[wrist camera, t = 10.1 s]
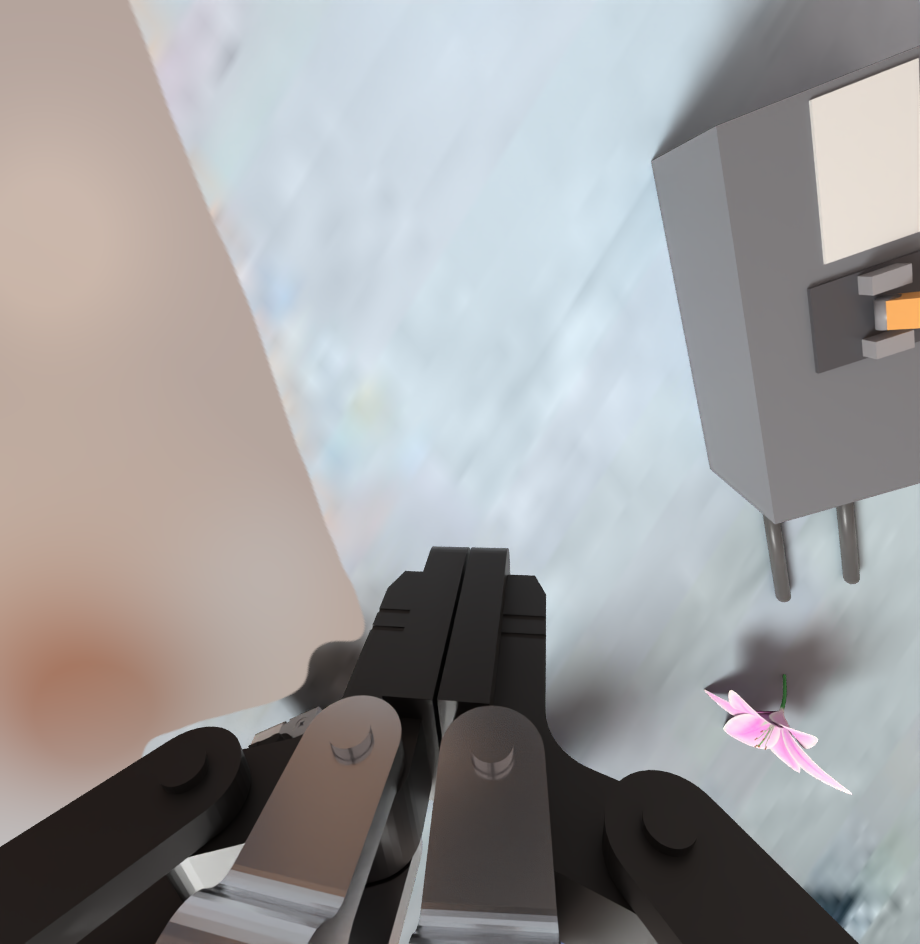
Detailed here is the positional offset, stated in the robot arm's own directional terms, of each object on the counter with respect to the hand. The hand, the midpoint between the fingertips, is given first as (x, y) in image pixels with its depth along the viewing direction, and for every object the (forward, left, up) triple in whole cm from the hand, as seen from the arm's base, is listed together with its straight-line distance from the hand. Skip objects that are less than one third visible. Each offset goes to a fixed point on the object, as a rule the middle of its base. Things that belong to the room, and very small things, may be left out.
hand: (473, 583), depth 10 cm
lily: (+42, +15, -33) cm, 56 cm away
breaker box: (+12, +23, -32) cm, 41 cm away
